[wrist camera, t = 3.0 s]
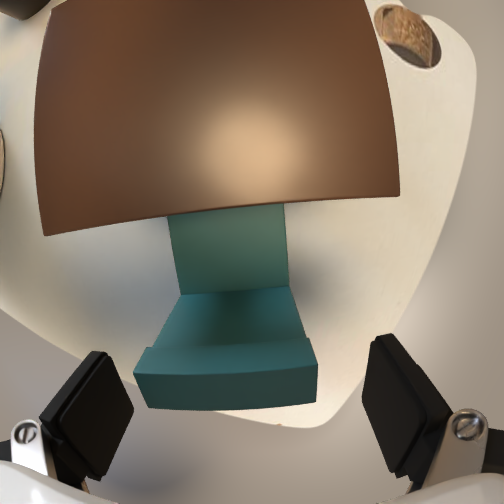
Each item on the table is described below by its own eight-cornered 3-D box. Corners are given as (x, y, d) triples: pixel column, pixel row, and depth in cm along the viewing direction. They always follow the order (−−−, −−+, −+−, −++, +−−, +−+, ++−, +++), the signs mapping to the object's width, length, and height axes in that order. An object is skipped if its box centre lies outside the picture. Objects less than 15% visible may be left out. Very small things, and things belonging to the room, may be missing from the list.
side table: (150, 202, 19) (43, 237, 8) (141, 78, 17) (50, 9, 5) (314, 184, 19) (401, 197, 7) (299, 57, 16) (345, -45, 5)
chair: (280, 274, 21) (316, 402, 8) (201, 281, 21) (147, 408, 8) (270, 159, 18) (308, 123, 6) (186, 169, 19) (81, 161, 6)
